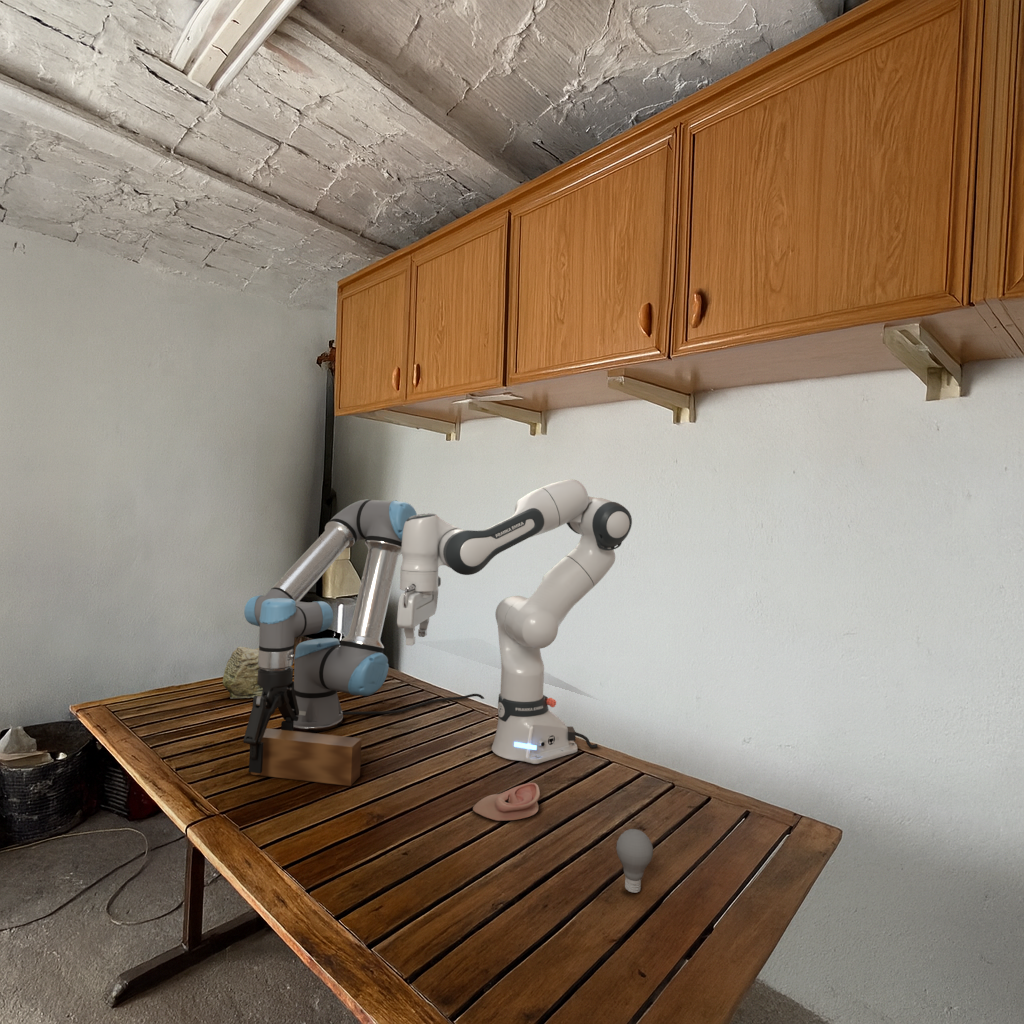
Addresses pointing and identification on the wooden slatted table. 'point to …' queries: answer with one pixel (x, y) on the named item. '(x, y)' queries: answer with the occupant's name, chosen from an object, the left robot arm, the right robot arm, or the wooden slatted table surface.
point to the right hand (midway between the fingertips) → (416, 640)
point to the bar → (311, 757)
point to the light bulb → (634, 857)
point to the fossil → (242, 673)
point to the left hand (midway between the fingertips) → (271, 760)
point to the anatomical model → (510, 803)
